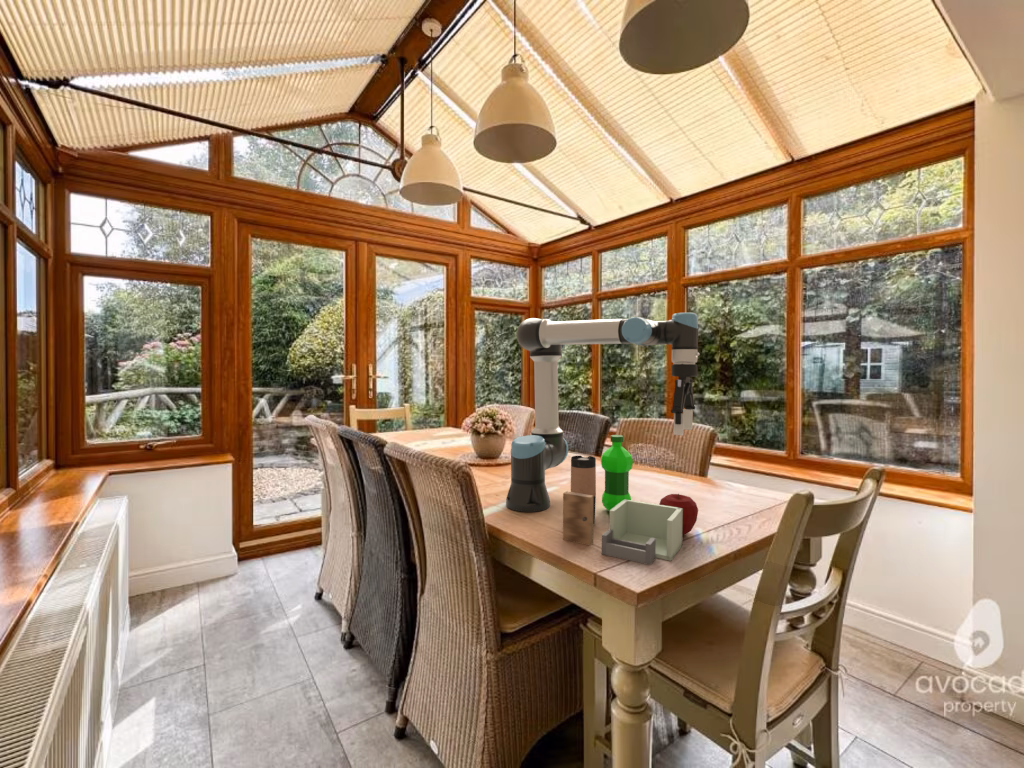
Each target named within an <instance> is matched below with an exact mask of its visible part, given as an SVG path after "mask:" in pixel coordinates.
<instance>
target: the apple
mask: <svg viewBox="0 0 1024 768" xmlns="http://www.w3.org/2000/svg"><path fill="white" fill-rule="evenodd" d="M658 505H665V506H671V507H678V508H683V532H682V537H683V536H686V535H688V534H689V533H690V532H691V531H692V529H694V526H695V525H696V523H697V520H698V513H699V508H698V505H697V503H696V502H695V500H693V499H692V497H691V496H687V495H684V494H680V493H670V494H667V495H665V496H664V497H662V498H661V499H660V501H659V504H658Z"/></svg>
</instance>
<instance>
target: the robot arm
mask: <svg viewBox="0 0 1024 768" xmlns="http://www.w3.org/2000/svg"><path fill="white" fill-rule="evenodd" d="M518 325H519V326H518V327H517V328H516V329H517V330H516V339H517V340H516V341H517V342H518V344H519V345H520V347H522V348H523V349H524V350H525V351H528V352H529V358H530V359H531V360H532V361H533V363H534V365H533V367H534V368H533V369H534V423H535V425H534V426H535V427H534V428H533V429H532V430H531V432H530V433H531V434H527V435H524V436H523V435H521V436H517V437H516V438H514V439H513V440H512V441H511V443H510V444H511V445H510V486H509V488H508V491H507V495H506V500H505V506H506V507H507V509H510V510H512V511H517V512H525V513H526V512H527V513H528V512H529V513H530V512H531V513H532V512H534V513H535V512H541V511H544V510H547V509H549V508H550V507H551V497H550V495H549V491H548V489H547V485H546V470H549V469H552V468H555V467H557V466H559V465H561V464H562V463H563V462H564V461H565V460H566V459H567V457H568V454H569V445H568V441H567V440H566V439H565V437H564V430H563V429H562V428H561V427H560V425H559V424H560V423H559V420H560V419H559V376H558V375H559V373H558V371H559V369H558V362H559V360H560V359H561V358H562V353H563V352H562V351H563V348H564V347H565V345H617V344H618V345H619V344H620V345H621V344H624V345H625V344H626V345H628V344H629V345H630V344H631V345H632V344H633V345H634V344H635V346H657V345H658V346H663V345H664V346H665V345H666V346H667V345H669V346H670V345H671V360H670V361H671V363H673V364H672V365H671V369H670V371H671V372H670V373H671V376H672V377H678V379H675V381H674V394H673V400H672V408H671V410H670V413H671V414H673V436H681V437H684V431H685V430H686V431H687V430H688V431H692V430H693V417H694V416H693V415H694V414H693V413H694V412H693V411H694V410H696V405H695V403H694V401H695V399H694V398H695V397H694V389H693V388H694V387H693V378H692V377H697V376H698V368H699V367H698V365H697V364H696V363H698V356H700V355H701V354H700V352H698V350H699V347H698V346H699V344H698V343H699V328H700V327H699V315H697V313H695V312H677V313H673V314H672V315H671V319H669V320H651V319H648V318H644V317H641V316H633V317H629V318H608V319H605V318H604V319H586V320H585V319H583V320H581V319H580V320H565V321H564V320H562V321H560V320H559V321H554V320H552V319H548V318H536V317H531V318H527V319H524V320H522V321H521V322H520V324H518Z"/></svg>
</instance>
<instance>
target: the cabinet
mask: <svg viewBox="0 0 1024 768" xmlns="http://www.w3.org/2000/svg"><path fill="white" fill-rule="evenodd" d="M682 532H683V508H678V507H671V506H665V505H659V504H657V503H652V502H643V501H639V500H632V499H631V500H626V499H624V500H623V501H622V502H620V503H619V504H618V505H616V506H615V507H614V508H612V509H611V510H610V512H609V529H607V530H606V531H605V532H604V533H602V534H601V555H603V556H608V557H613V558H616V559H617V558H618V559H621V560H622V559H623V560H626V561H630V562H631V561H632V562H636V563H640V564H645V565H649V566H651V565H652V564H653V562H654V561H655V559H660V560H665V561H671V562H672V561H673V560H674V558H675V556H676V555H677V553H678V552H679V551H680V550H681V548H682V546H683V536H682Z"/></svg>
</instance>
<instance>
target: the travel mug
mask: <svg viewBox="0 0 1024 768" xmlns="http://www.w3.org/2000/svg"><path fill="white" fill-rule="evenodd" d="M596 465H597V464H596V457H595V456H592V455H589V456H587V457H584V456H582V455H573V456H571V457H570V492H574V493H581V494H587V495H593V496H594V497H593V525H595V523H596V503H597V502H596V500H597V490H596V489H597V485H596V484H597V483H596V480H597V477H596V476H597V469H596V468H597V466H596Z"/></svg>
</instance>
